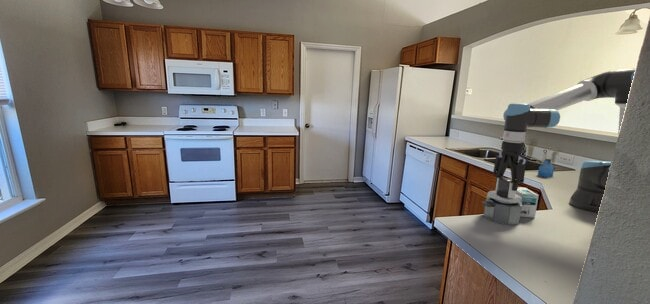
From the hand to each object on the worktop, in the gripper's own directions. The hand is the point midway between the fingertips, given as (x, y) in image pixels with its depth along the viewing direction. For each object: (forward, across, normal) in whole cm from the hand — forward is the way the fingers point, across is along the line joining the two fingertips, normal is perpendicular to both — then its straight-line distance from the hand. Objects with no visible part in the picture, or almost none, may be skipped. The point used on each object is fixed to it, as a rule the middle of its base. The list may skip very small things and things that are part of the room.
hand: (504, 194), depth 116 cm
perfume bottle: (+11, -56, +85) cm, 102 cm away
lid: (+3, 0, 0) cm, 3 cm away
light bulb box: (+11, -4, +14) cm, 18 cm away
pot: (+11, 0, 0) cm, 11 cm away
